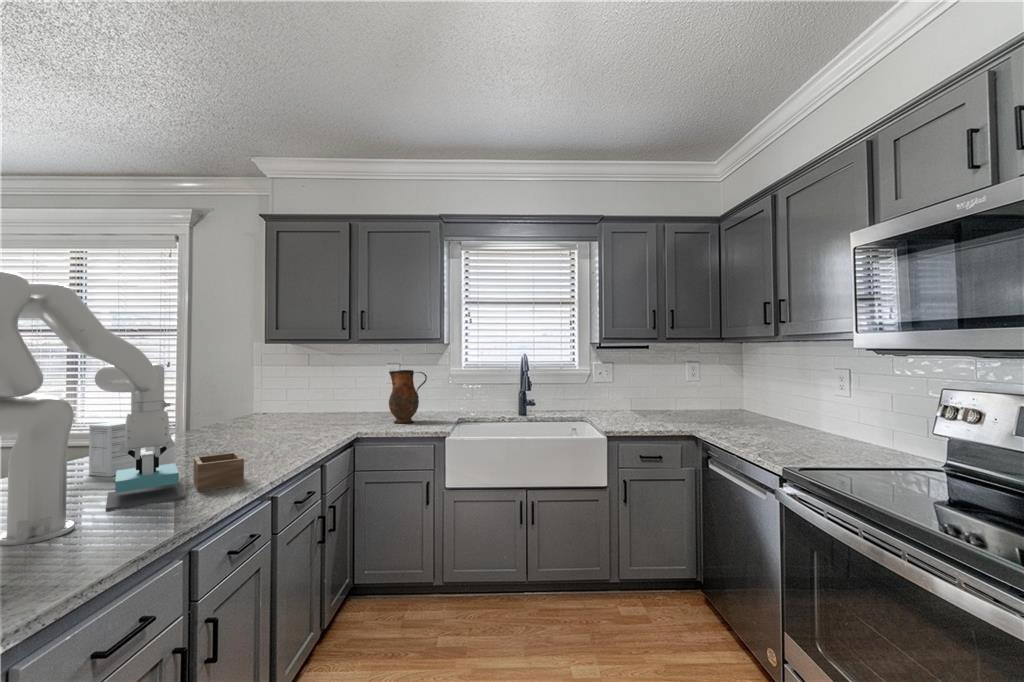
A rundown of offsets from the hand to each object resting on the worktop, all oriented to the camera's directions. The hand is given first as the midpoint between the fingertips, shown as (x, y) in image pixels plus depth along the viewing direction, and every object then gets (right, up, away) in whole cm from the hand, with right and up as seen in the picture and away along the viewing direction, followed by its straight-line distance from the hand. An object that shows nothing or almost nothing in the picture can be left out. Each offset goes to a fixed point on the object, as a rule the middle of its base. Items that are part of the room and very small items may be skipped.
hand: (147, 470), depth 135 cm
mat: (0, -7, 0) cm, 7 cm away
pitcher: (+44, -10, +136) cm, 143 cm away
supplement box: (-31, -8, +25) cm, 40 cm away
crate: (+12, -8, +13) cm, 19 cm away
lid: (0, -3, 0) cm, 3 cm away
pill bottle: (-9, -8, +17) cm, 21 cm away
